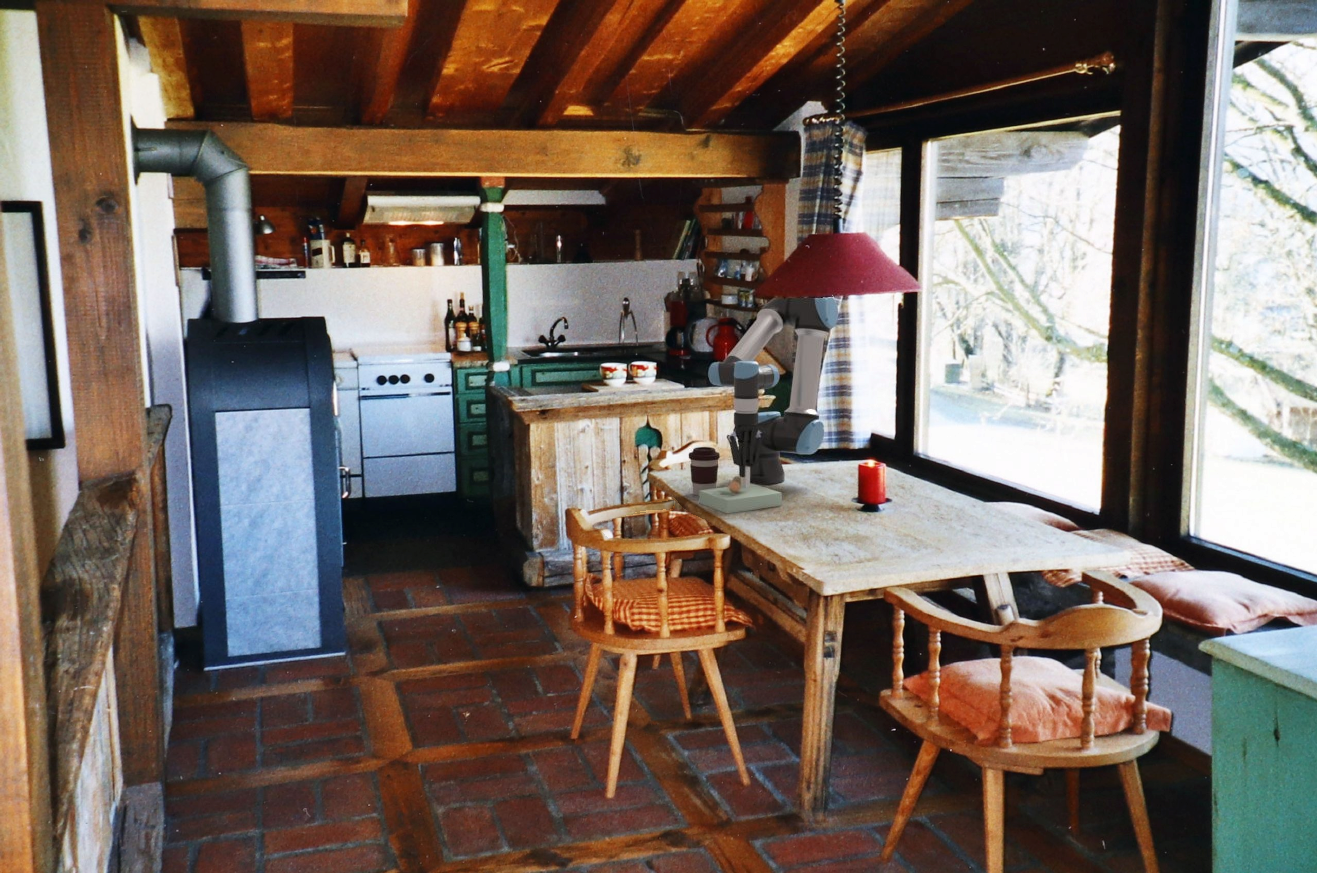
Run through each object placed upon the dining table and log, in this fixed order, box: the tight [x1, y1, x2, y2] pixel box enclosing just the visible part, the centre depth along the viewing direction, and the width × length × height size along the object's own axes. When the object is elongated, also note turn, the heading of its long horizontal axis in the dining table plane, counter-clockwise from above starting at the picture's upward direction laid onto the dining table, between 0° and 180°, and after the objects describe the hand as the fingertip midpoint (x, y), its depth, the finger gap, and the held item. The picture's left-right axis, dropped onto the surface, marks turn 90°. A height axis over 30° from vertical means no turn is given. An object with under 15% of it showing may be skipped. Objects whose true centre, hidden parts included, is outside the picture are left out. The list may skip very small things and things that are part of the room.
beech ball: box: [731, 475, 741, 487], centre depth 360 cm, size 4×4×4 cm
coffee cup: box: [688, 446, 720, 497], centre depth 368 cm, size 10×10×15 cm
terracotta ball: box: [728, 481, 740, 493], centre depth 352 cm, size 4×4×4 cm
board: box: [698, 483, 783, 514], centre depth 354 cm, size 20×16×4 cm
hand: (745, 486), depth 355 cm, fingers closed
